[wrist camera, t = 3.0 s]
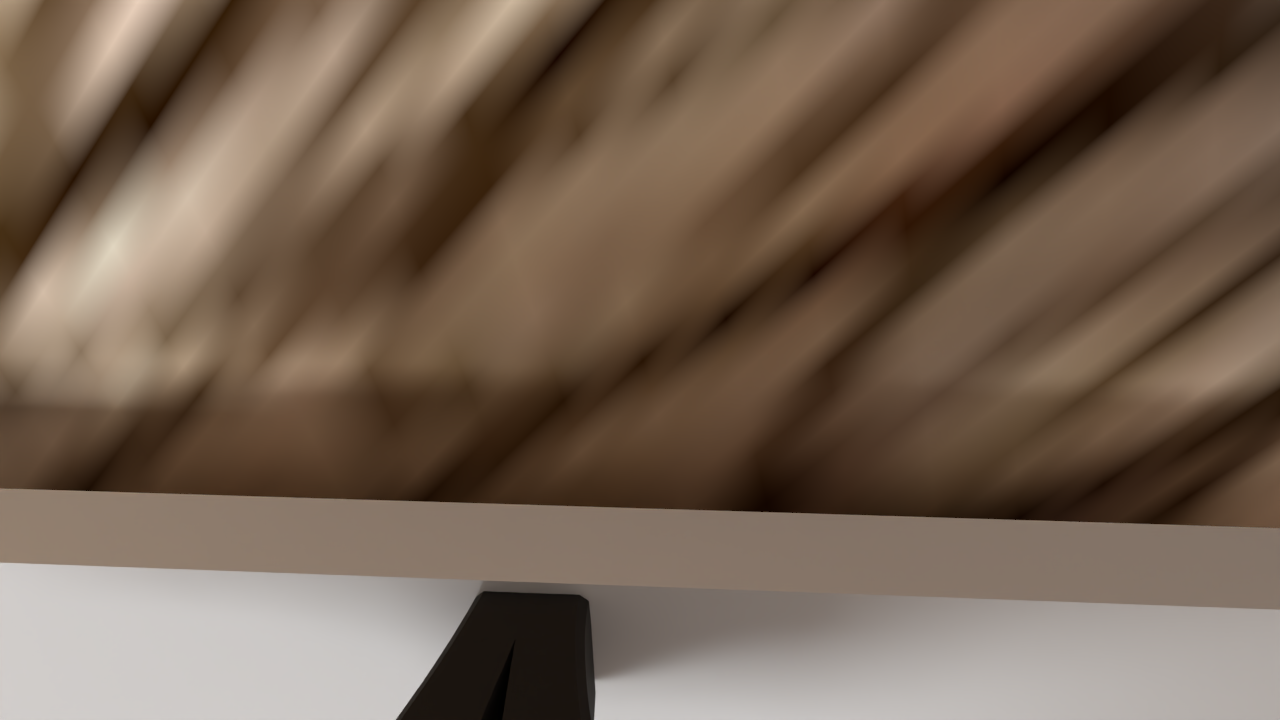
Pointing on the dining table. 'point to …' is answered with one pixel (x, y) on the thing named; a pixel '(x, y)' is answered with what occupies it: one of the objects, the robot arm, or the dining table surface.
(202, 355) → the dining table surface
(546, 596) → the robot arm
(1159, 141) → the dining table surface
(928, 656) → the grey plank
